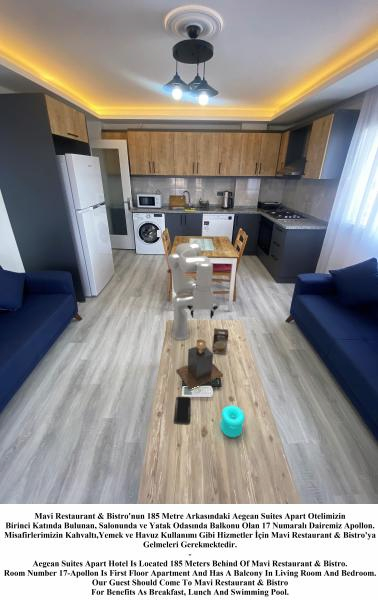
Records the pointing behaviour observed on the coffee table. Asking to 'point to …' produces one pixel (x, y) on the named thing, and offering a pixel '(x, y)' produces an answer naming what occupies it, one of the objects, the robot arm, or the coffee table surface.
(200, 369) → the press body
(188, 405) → the phone
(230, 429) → the donuts
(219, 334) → the coffee box
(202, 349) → the plunger
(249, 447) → the coffee table surface
